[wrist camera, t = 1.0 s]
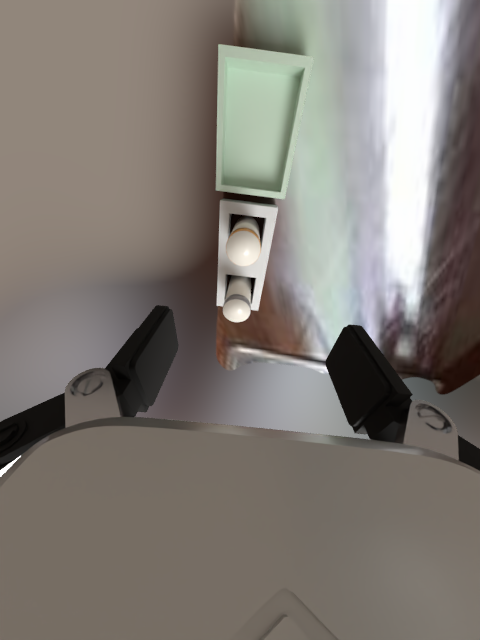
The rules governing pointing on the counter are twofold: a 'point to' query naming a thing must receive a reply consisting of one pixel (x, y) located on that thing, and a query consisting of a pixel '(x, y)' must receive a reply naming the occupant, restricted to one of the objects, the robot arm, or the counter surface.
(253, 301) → the holder block
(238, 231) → the cylinder
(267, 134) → the tray
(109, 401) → the robot arm
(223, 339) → the counter surface
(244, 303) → the cylinder
